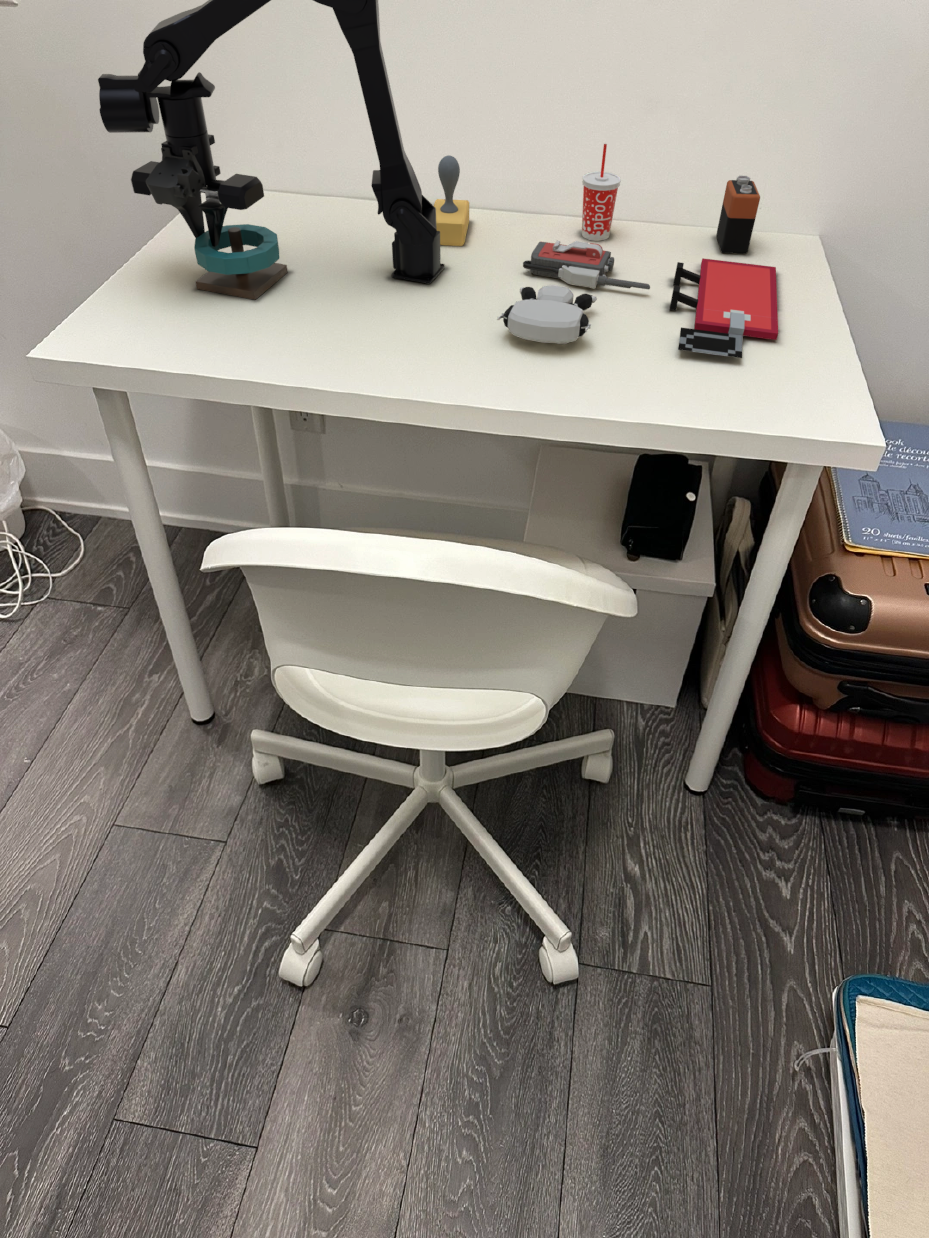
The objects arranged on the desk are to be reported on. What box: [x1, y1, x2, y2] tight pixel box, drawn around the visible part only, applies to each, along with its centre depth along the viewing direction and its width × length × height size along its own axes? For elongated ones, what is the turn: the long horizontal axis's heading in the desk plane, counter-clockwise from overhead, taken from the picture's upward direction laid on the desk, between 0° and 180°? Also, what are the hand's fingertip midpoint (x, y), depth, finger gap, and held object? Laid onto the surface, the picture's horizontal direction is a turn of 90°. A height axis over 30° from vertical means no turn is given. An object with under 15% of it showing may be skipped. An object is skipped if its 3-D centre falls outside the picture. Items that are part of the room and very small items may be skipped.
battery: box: [715, 175, 761, 255], centre depth 143 cm, size 4×7×10 cm, turn 176°
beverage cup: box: [581, 143, 622, 242], centre depth 144 cm, size 6×6×14 cm
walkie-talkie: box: [522, 240, 651, 290], centre depth 136 cm, size 9×4×20 cm
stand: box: [195, 227, 289, 301], centre depth 133 cm, size 10×10×8 cm
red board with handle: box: [669, 257, 779, 359], centre depth 129 cm, size 30×3×15 cm
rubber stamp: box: [433, 154, 470, 247], centre depth 145 cm, size 10×6×12 cm, turn 175°
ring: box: [193, 223, 281, 275], centre depth 133 cm, size 12×12×2 cm
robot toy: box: [496, 284, 598, 345], centre depth 124 cm, size 12×4×15 cm
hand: (208, 244), depth 134 cm, fingers closed on ring, 2 cm apart
